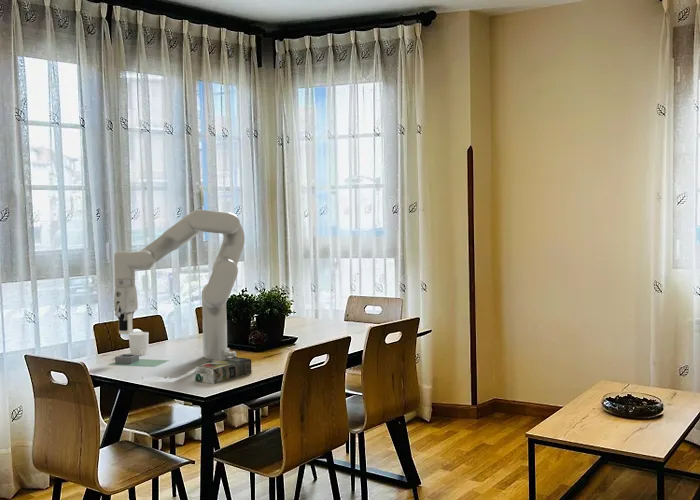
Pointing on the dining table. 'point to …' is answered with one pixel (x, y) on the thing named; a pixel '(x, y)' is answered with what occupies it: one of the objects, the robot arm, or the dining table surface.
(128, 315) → the cream rectangular block
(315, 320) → the dining table surface
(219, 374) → the juice carton
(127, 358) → the board
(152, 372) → the dining table surface
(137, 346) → the white cup
